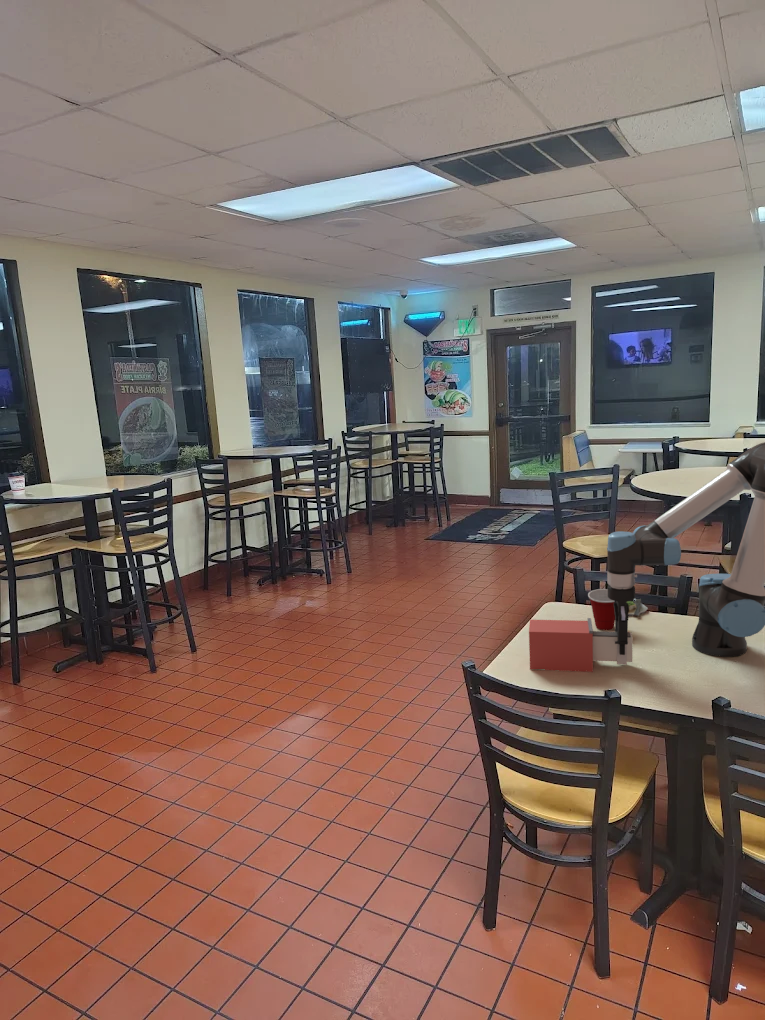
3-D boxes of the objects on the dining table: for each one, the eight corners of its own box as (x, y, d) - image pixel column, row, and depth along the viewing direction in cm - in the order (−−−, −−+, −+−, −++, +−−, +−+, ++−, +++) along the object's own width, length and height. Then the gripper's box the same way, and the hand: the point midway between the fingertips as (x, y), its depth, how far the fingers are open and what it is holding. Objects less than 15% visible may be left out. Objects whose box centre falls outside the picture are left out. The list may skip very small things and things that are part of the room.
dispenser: (530, 669, 201) (528, 629, 199) (530, 655, 211) (529, 616, 209) (593, 672, 197) (592, 630, 194) (591, 657, 207) (590, 618, 204)
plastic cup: (588, 633, 226) (587, 598, 223) (588, 621, 236) (587, 588, 233) (622, 634, 222) (622, 599, 220) (620, 622, 233) (620, 589, 230)
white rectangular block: (568, 659, 201) (568, 634, 200) (568, 655, 204) (568, 630, 203) (632, 662, 197) (632, 636, 195) (631, 657, 200) (631, 632, 198)
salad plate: (660, 617, 235) (660, 605, 234) (610, 622, 234) (610, 609, 234) (636, 600, 254) (636, 588, 253) (589, 604, 253) (589, 592, 253)
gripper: (638, 594, 186) (637, 673, 191) (631, 577, 201) (631, 650, 206) (609, 594, 188) (610, 672, 193) (605, 576, 203) (605, 649, 208)
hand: (621, 660), depth 199 cm, fingers closed on white rectangular block, 3 cm apart
